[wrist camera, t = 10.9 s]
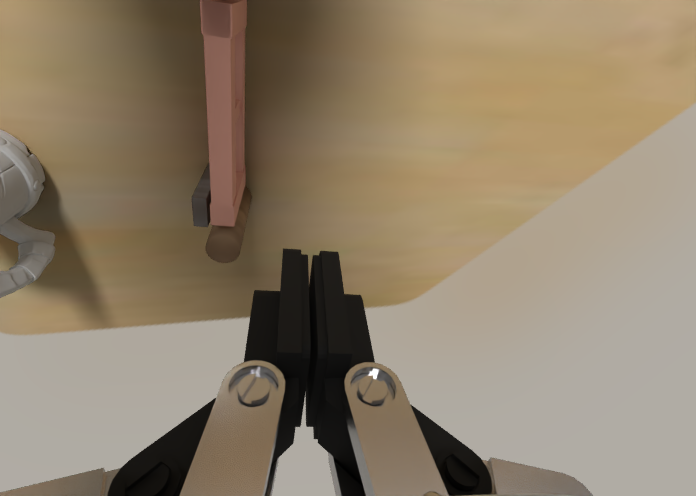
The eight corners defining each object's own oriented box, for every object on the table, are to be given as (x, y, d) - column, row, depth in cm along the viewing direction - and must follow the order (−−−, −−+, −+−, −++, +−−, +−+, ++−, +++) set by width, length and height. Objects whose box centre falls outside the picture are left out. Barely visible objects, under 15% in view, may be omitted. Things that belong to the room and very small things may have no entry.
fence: (188, -232, 21) (133, -337, 14) (257, -214, 22) (236, -306, 15) (210, 205, 35) (189, 260, 28) (251, 208, 36) (240, 263, 29)
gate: (222, -6, 26) (199, -2, 20) (246, -2, 26) (231, 4, 20) (226, 181, 33) (210, 224, 28) (245, 183, 34) (234, 226, 28)
